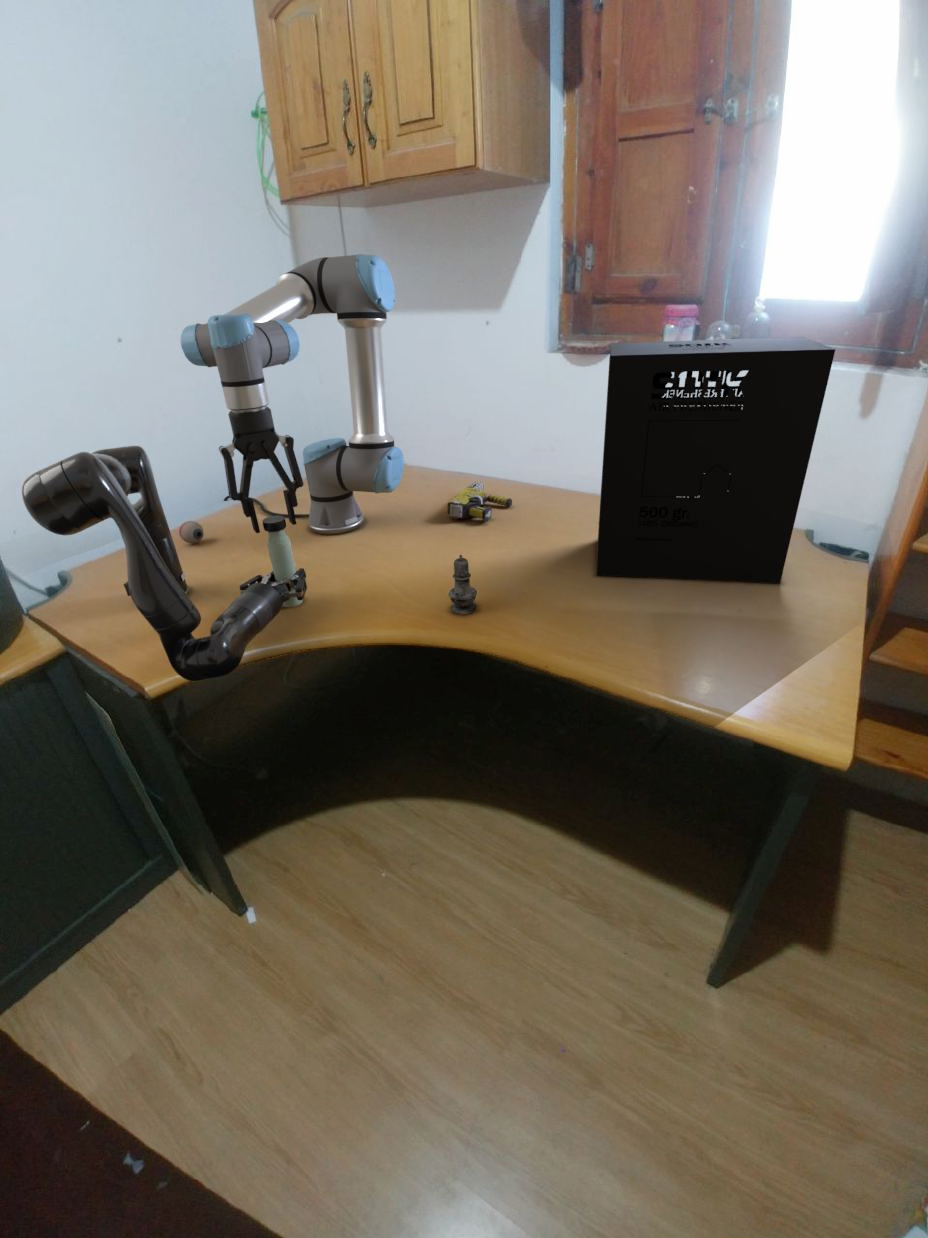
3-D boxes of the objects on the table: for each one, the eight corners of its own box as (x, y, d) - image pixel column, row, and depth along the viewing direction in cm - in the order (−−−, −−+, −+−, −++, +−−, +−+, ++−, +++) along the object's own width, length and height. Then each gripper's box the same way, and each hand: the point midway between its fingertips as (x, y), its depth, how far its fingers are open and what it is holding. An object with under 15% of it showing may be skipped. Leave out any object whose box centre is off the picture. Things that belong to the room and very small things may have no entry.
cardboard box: (759, 545, 143) (803, 336, 120) (780, 583, 126) (835, 349, 103) (597, 539, 151) (610, 343, 128) (596, 575, 134) (610, 355, 111)
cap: (282, 531, 120) (280, 522, 119) (261, 532, 120) (258, 523, 119) (289, 523, 124) (287, 514, 123) (268, 524, 124) (266, 515, 123)
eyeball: (192, 548, 159) (186, 527, 156) (178, 544, 162) (171, 523, 159) (211, 540, 164) (205, 519, 161) (197, 537, 167) (190, 516, 164)
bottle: (306, 598, 132) (290, 519, 123) (296, 608, 128) (278, 527, 119) (287, 596, 133) (270, 518, 124) (276, 606, 129) (258, 526, 120)
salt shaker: (475, 615, 121) (472, 561, 115) (446, 614, 122) (442, 560, 116) (480, 601, 126) (478, 548, 120) (452, 600, 127) (449, 547, 121)
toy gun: (520, 486, 181) (473, 479, 185) (498, 510, 161) (445, 501, 165) (519, 501, 183) (472, 494, 187) (496, 526, 163) (445, 518, 167)
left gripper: (284, 594, 112) (319, 556, 126) (214, 591, 115) (257, 554, 129) (291, 629, 116) (325, 588, 130) (224, 625, 118) (265, 585, 133)
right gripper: (295, 398, 117) (316, 511, 129) (189, 413, 109) (221, 532, 121) (307, 403, 111) (327, 521, 123) (196, 419, 103) (229, 544, 115)
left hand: (291, 571), depth 130 cm, fingers closed on bottle, 4 cm apart
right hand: (275, 526), depth 122 cm, fingers open, 7 cm apart
